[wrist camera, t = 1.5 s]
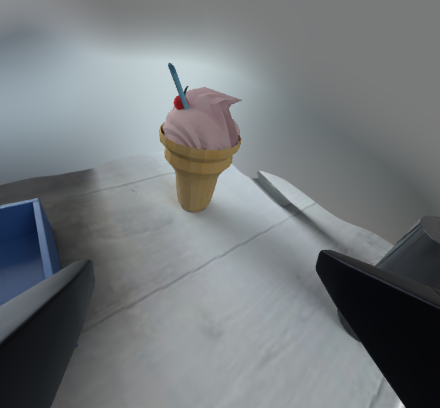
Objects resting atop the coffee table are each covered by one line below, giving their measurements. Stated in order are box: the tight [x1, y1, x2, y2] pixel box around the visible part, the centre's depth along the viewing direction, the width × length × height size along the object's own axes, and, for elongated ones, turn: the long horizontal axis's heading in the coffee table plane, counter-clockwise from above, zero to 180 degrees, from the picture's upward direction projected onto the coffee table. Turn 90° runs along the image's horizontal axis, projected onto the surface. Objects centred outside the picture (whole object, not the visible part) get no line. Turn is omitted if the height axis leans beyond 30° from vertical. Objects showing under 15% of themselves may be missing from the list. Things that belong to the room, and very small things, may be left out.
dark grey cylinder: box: [337, 216, 440, 342], centre depth 21 cm, size 5×5×14 cm
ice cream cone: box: [159, 63, 241, 212], centre depth 31 cm, size 11×11×20 cm
